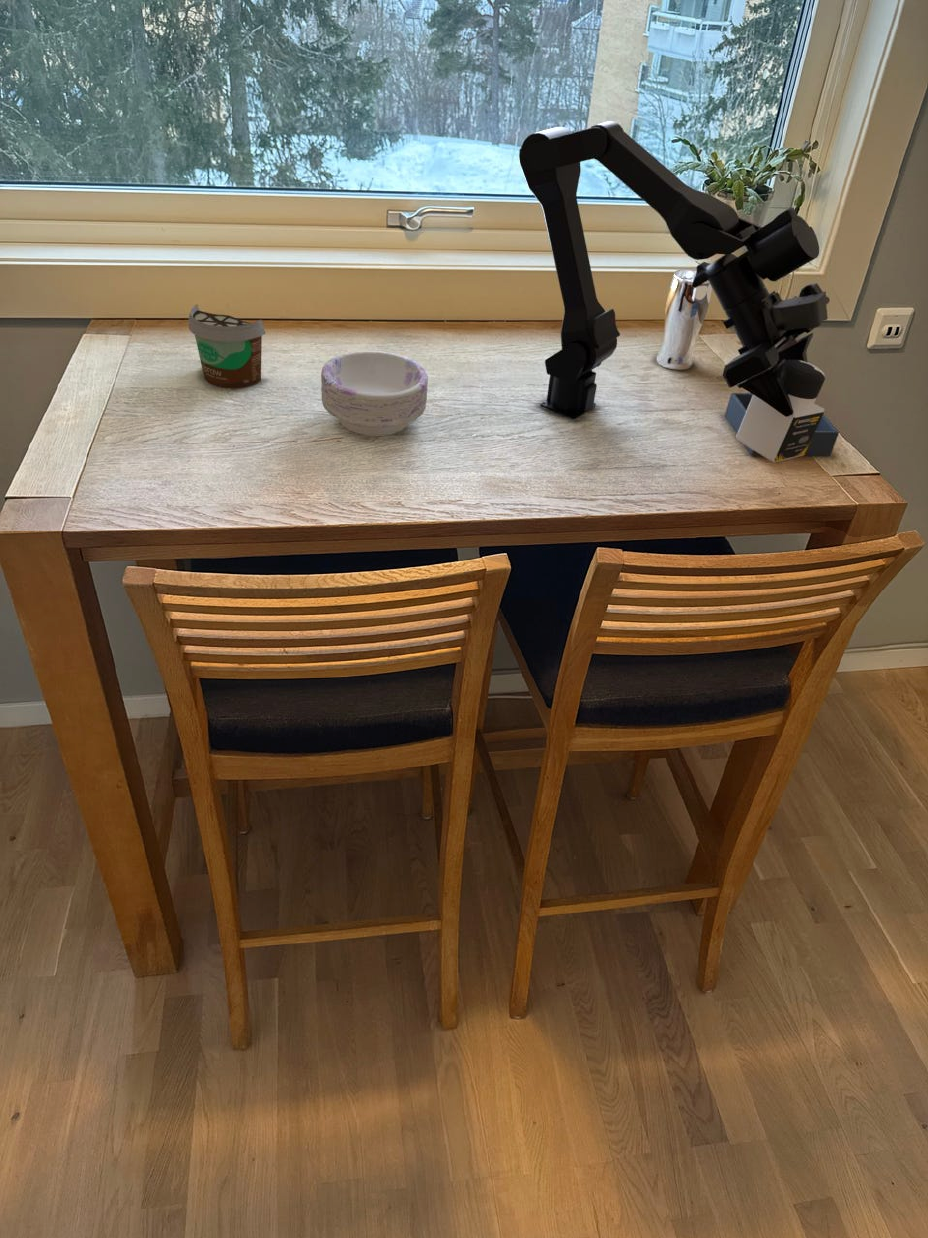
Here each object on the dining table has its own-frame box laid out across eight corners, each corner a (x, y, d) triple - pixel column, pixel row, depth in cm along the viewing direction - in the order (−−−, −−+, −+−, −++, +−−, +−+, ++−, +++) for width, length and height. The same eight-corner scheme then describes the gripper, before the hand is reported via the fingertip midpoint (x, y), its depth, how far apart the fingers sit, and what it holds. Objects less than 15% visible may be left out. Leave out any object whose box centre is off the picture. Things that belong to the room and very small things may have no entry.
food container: (178, 380, 139) (169, 316, 132) (202, 365, 143) (194, 303, 137) (247, 398, 136) (241, 334, 129) (269, 382, 140) (264, 320, 134)
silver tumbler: (693, 373, 154) (715, 285, 144) (653, 367, 155) (671, 279, 145) (694, 357, 159) (715, 271, 150) (654, 351, 160) (673, 265, 150)
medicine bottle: (773, 463, 121) (811, 379, 114) (733, 439, 125) (767, 356, 118) (804, 456, 125) (842, 374, 118) (764, 432, 129) (799, 352, 122)
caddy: (751, 455, 133) (758, 431, 131) (724, 415, 142) (731, 392, 140) (830, 456, 135) (839, 432, 132) (798, 416, 144) (806, 393, 141)
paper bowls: (446, 430, 132) (449, 380, 127) (358, 457, 125) (357, 404, 120) (389, 389, 141) (389, 341, 136) (303, 412, 134) (300, 361, 129)
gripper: (775, 285, 105) (835, 403, 107) (825, 249, 117) (877, 355, 120) (696, 331, 113) (754, 439, 116) (750, 292, 125) (801, 391, 128)
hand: (799, 404), depth 120 cm, fingers closed on medicine bottle, 7 cm apart
